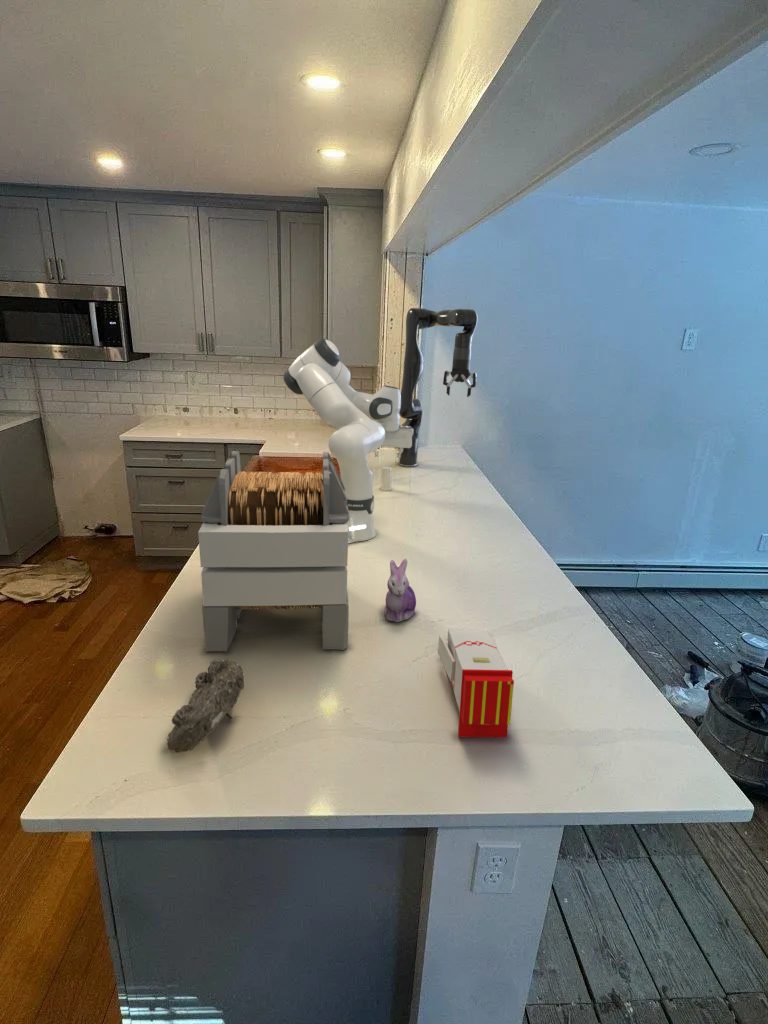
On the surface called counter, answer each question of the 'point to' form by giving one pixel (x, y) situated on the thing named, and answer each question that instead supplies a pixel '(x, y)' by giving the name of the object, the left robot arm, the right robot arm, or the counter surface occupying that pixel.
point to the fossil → (206, 705)
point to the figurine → (399, 594)
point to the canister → (386, 478)
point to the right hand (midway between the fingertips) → (458, 395)
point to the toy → (478, 682)
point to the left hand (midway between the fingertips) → (387, 457)
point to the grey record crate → (274, 549)
